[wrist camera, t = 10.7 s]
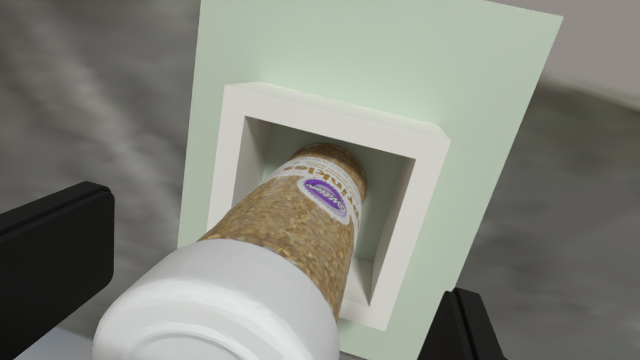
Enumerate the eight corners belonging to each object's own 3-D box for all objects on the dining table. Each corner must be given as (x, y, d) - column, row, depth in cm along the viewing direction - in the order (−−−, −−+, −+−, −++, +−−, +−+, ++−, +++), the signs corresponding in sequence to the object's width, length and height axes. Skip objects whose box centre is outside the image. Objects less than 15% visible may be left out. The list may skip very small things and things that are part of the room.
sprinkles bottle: (381, 161, 18) (371, 367, 5) (347, 236, 19) (274, 538, 7) (298, 126, 18) (98, 243, 6) (270, 203, 20) (62, 433, 7)
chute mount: (221, -47, 18) (153, -93, 13) (548, 21, 16) (622, -2, 11) (185, 283, 24) (130, 341, 19) (416, 356, 23) (424, 441, 18)
